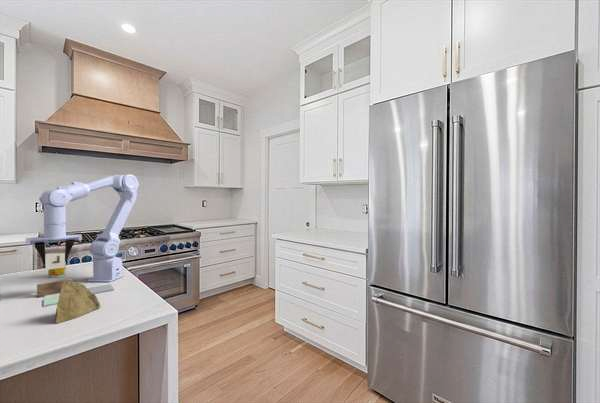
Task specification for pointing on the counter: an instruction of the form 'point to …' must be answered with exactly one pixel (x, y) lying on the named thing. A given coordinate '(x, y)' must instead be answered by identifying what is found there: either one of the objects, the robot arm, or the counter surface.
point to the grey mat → (100, 289)
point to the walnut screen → (50, 288)
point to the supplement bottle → (57, 272)
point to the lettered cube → (55, 260)
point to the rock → (74, 301)
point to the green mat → (51, 301)
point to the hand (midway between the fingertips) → (55, 262)
